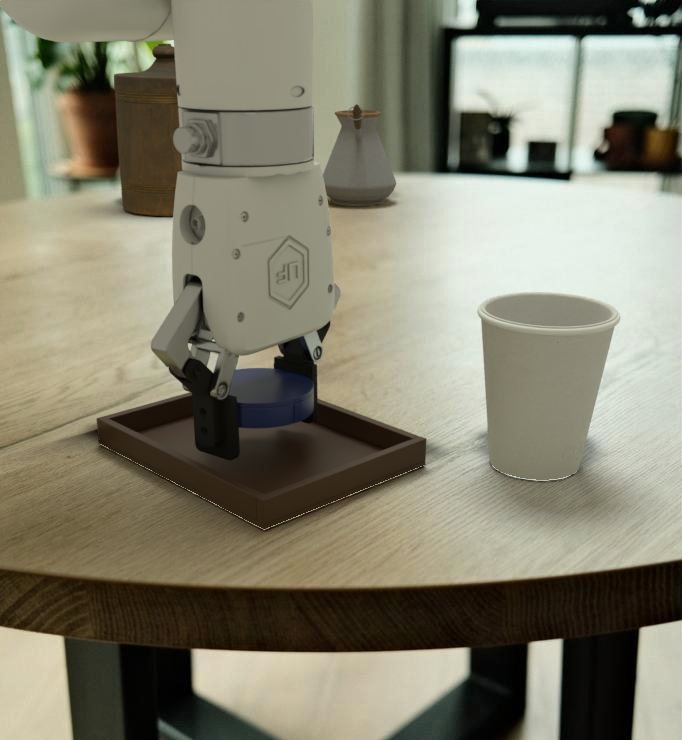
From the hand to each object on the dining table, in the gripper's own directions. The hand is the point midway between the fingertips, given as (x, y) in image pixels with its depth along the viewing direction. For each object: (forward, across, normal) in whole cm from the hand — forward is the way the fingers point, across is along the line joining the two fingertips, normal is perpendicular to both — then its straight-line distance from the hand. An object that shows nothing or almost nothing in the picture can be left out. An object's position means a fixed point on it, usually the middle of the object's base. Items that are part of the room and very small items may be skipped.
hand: (258, 433), depth 65 cm
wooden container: (+2, +63, +71) cm, 95 cm away
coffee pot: (+2, +80, +50) cm, 94 cm away
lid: (-3, 0, 0) cm, 3 cm away
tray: (+2, 0, 0) cm, 2 cm away
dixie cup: (+2, +10, -15) cm, 18 cm away
